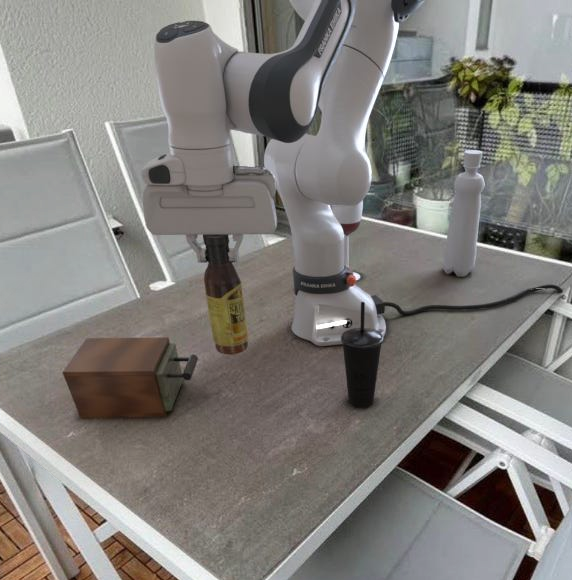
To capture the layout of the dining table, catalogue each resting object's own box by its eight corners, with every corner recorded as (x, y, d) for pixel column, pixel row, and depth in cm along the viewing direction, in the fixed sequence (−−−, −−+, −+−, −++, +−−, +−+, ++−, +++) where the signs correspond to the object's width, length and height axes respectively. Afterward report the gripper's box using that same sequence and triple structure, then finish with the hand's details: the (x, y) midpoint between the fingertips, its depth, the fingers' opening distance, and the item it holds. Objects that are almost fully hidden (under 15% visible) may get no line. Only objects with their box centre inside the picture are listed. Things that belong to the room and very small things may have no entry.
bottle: (436, 273, 156) (449, 153, 136) (449, 263, 162) (463, 146, 142) (465, 280, 153) (483, 157, 133) (478, 270, 158) (497, 150, 138)
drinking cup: (340, 391, 109) (339, 294, 96) (377, 390, 110) (382, 293, 97) (342, 413, 104) (342, 312, 90) (382, 411, 104) (387, 311, 91)
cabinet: (179, 381, 112) (168, 337, 105) (165, 417, 103) (152, 371, 96) (101, 382, 112) (86, 337, 105) (80, 418, 102) (62, 372, 96)
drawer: (205, 378, 111) (198, 342, 106) (194, 410, 103) (186, 373, 97) (111, 379, 111) (99, 343, 105) (92, 411, 102) (78, 374, 97)
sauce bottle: (242, 358, 98) (225, 242, 84) (209, 354, 98) (187, 239, 85) (254, 341, 102) (240, 229, 89) (223, 338, 103) (204, 226, 90)
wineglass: (367, 274, 155) (369, 197, 142) (350, 284, 150) (351, 205, 136) (343, 268, 158) (343, 193, 145) (326, 278, 153) (324, 200, 140)
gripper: (275, 161, 83) (282, 254, 92) (140, 161, 83) (161, 255, 92) (272, 171, 79) (280, 268, 88) (129, 171, 78) (152, 269, 87)
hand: (218, 261), depth 90 cm, fingers closed on sauce bottle, 4 cm apart
